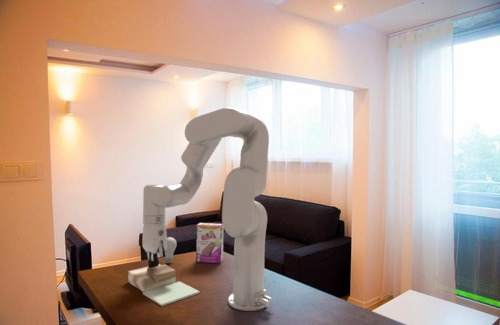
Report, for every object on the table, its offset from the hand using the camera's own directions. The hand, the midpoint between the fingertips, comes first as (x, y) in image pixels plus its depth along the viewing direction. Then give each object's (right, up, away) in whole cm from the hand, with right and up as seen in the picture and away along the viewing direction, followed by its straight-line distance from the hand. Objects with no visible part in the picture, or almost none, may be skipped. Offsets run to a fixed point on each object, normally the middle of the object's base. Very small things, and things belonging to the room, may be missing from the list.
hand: (153, 270), depth 115 cm
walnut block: (+4, +1, -4) cm, 5 cm away
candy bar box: (+17, -5, +25) cm, 31 cm away
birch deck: (-1, -5, +1) cm, 5 cm away
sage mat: (+8, -5, -8) cm, 13 cm away
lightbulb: (0, -5, +23) cm, 23 cm away
